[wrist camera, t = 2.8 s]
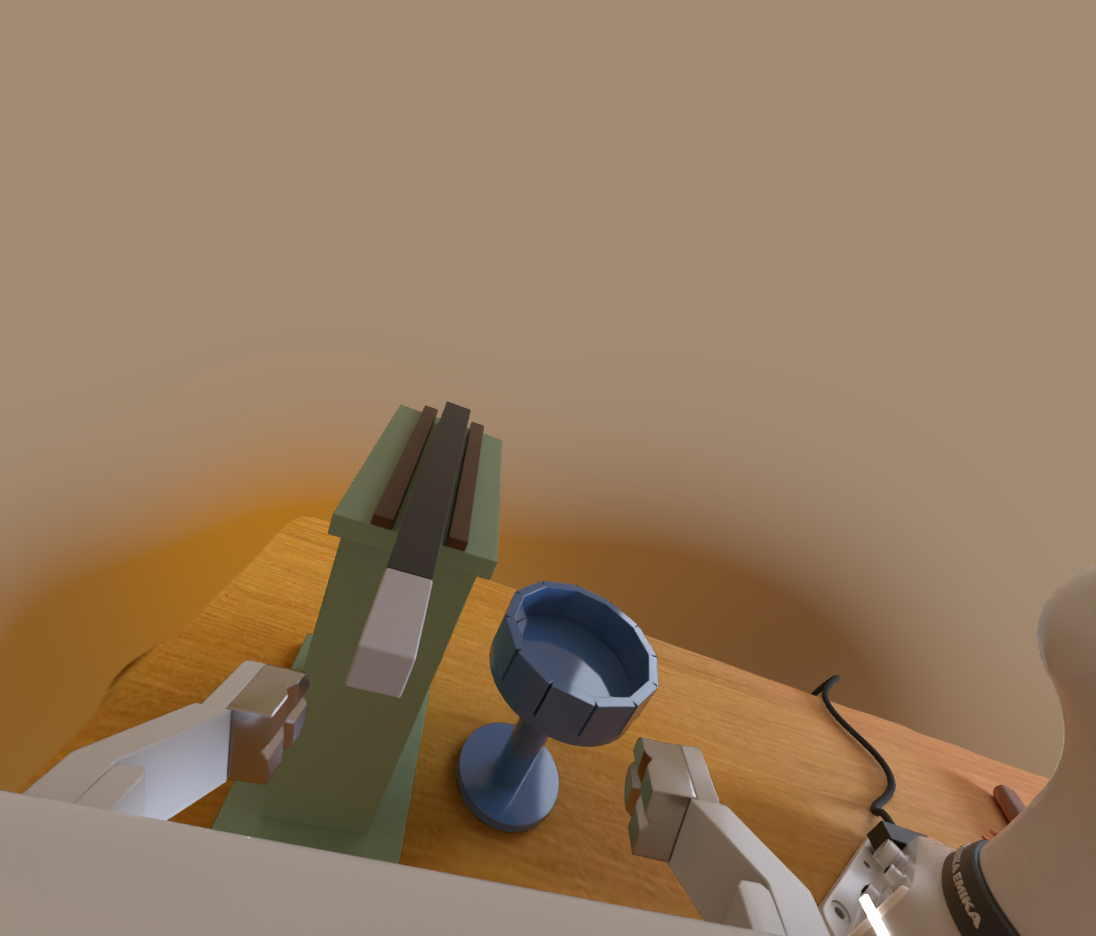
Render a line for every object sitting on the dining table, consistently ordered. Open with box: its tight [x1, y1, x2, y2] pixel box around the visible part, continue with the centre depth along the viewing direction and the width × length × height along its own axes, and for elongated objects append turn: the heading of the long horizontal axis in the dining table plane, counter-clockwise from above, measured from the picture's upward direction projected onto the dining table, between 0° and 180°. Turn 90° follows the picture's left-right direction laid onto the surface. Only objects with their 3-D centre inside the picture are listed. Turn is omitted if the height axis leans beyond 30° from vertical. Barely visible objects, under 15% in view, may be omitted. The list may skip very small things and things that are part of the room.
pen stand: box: [211, 405, 502, 864], centre depth 37 cm, size 18×12×27 cm, turn 4°
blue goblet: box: [456, 581, 658, 833], centre depth 41 cm, size 12×12×16 cm
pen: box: [345, 402, 470, 698], centre depth 27 cm, size 24×2×2 cm, turn 4°
